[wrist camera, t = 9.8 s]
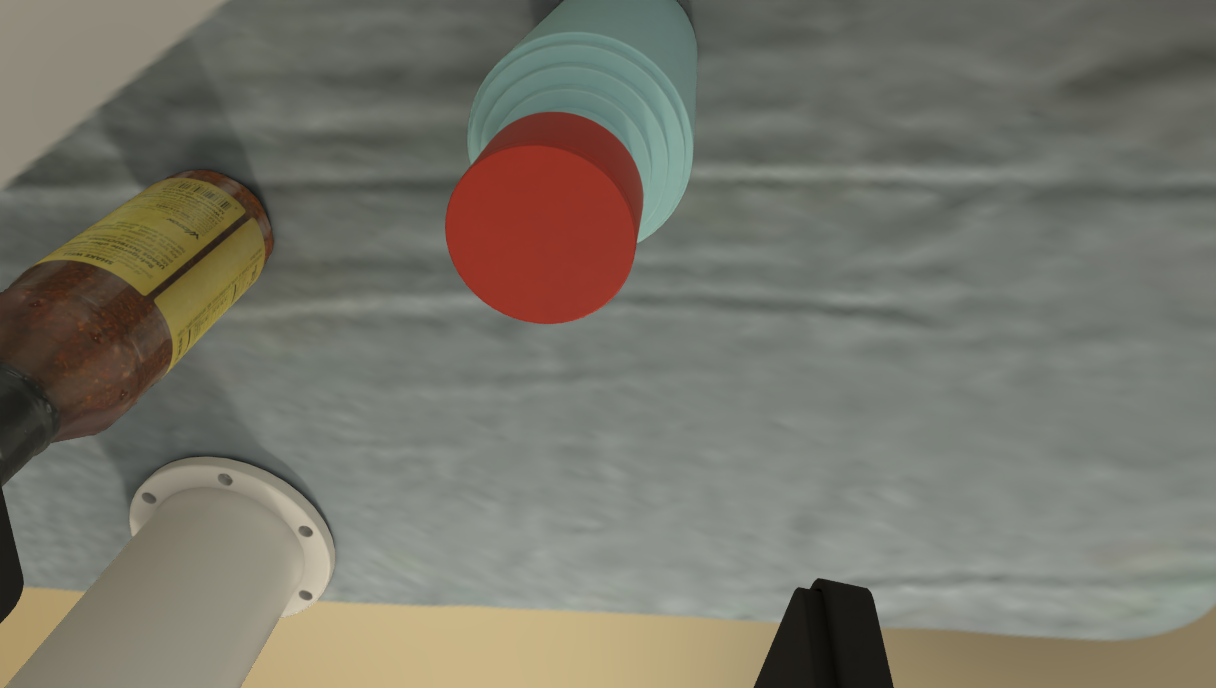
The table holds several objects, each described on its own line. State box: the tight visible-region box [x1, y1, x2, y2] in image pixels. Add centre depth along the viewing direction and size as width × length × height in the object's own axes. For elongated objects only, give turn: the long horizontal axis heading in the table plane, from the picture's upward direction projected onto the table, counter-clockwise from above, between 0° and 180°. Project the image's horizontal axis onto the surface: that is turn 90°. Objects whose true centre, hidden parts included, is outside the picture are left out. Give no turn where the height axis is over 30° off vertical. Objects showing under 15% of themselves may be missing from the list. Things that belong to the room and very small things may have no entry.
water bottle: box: [467, 0, 698, 243], centre depth 27 cm, size 7×7×20 cm
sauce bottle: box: [0, 169, 274, 487], centre depth 33 cm, size 6×6×20 cm
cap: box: [445, 112, 644, 324], centre depth 20 cm, size 4×4×3 cm
